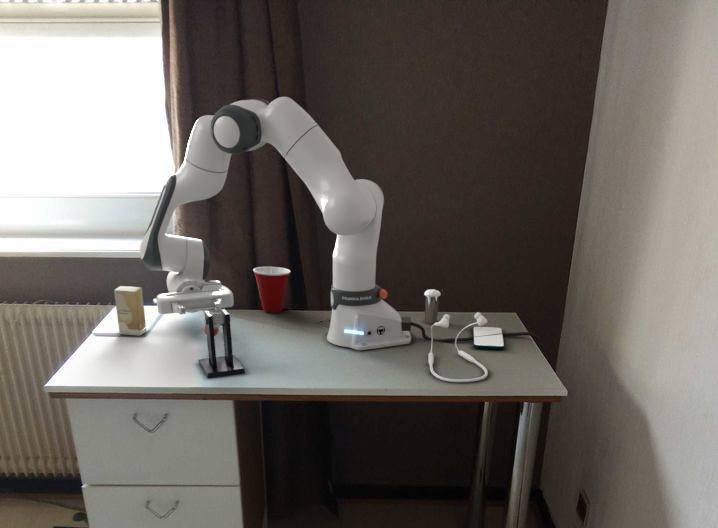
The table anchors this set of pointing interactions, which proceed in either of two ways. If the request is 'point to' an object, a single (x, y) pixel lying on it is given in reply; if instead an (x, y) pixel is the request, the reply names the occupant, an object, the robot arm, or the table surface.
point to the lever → (216, 323)
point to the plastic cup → (272, 287)
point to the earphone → (445, 323)
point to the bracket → (229, 361)
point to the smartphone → (488, 338)
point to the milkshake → (431, 305)
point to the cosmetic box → (130, 310)
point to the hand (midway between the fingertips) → (200, 309)
